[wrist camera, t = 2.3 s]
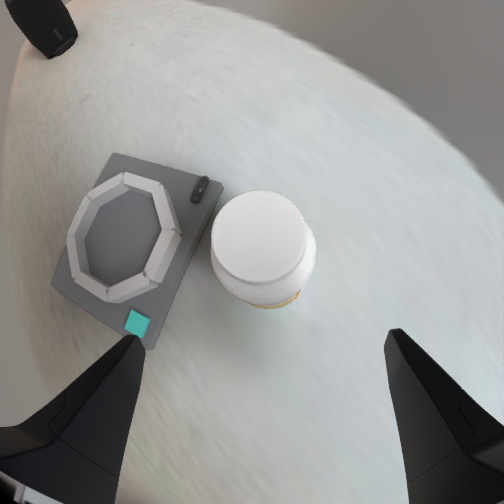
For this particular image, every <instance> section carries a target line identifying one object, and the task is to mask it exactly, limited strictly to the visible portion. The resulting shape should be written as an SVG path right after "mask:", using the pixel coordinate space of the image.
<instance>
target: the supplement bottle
mask: <svg viewBox="0 0 504 504" xmlns="http://www.w3.org/2000/svg"><path fill="white" fill-rule="evenodd" d="M315 259H316V243H315V239H314V235H313V232H312V230H311V228H310V226H309V224H308V223H307V222H306V220H305V219H304V218H303V216H302V214H301V212H300V211H299V209H298V208H297V207H296V206H295V204H294V203H292V202H291V201H290V200H289V199H288V198H286V197H284V196H283V195H281V194H278V193H276V192H272V191H267V190H254V191H248V192H245V193H242V194H240V195H237V196H236V197H234V198H233V199H231V200H230V201H228V202H227V203H226V204H225V205H224V206H223V207H222V208H221V210H220V211H219V213H218V214H217V216H216V218H215V220H214V223H213V227H212V232H211V262H212V266H213V269H214V272H215V274H216V276H217V278H218V280H219V281H220V283H221V284H222V285H223V286H224V287H225V288H226V289H227V290H228V291H229V292H230V293H231V294H232V295H234V296H235V297H237V298H238V299H241V300H243V301H245V302H247V303H249V304H251V305H253V306H255V307H258V308H262V309H277V308H281V307H284V306H286V305H288V304H290V303H291V302H293V301H294V300H295V299H296V298H297V297H298V296H299V294H300V293H301V292H302V290H303V288H304V287H305V285H306V283H307V281H308V279H309V278H310V276H311V274H312V271H313V268H314V264H315Z"/></svg>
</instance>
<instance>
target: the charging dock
mask: <svg viewBox="0 0 504 504" xmlns="http://www.w3.org/2000/svg"><path fill="white" fill-rule="evenodd" d="M223 189H224V188H223V186H222V183H220V182H216V181H213V180H210V179H209V178H208V177H207V176H202V177H200V176H197V175H193V174H190V173H187V172H183V171H180V170H176V169H173V168H169V167H166V166H162V165H159V164H155V163H151V162H148V161H144V160H140V159H136V158H132V157H129V156H125V155H121V154H117V153H113V154H112V156H111V157H110V159H109V161H108V162H107V164H106V166H105V168H104V169H103V171H102V173H101V175H100V177H99V178H98V180H97V182H96V184H95V186H94V188H93V189H92V190H91V191H89V192H88V196H86V195H85V196H84V198H83V200H82V202H81V204H80V206H79V208H78V210H77V213H76V215H75V217H74V219H73V221H72V223H71V225H70V228H69V230H68V232H67V235H69V236H68V237H66V242H67V244H66V247H65V249H64V251H63V254H62V256H61V259H60V261H59V264H58V267H57V269H56V272H55V275H54V277H53V280H52V283H51V286H53V287H54V288H55V289H57V290H58V291H59V292H60V293H62V294H63V295H64V296H66V297H67V298H68V299H70V300H71V301H72V302H74V303H75V304H77V305H78V306H79V307H81V308H82V309H84V310H85V311H86V312H88V313H89V314H91V315H92V316H94V317H95V318H97V319H98V320H100V321H101V322H103V323H104V324H106V325H107V326H109V327H110V328H112V329H113V330H115V331H117V332H118V333H120V334H121V335H123V336H126V335H127V334H134V335H137V336H139V338H140V340H141V342H142V344H143V346H144V348H145V349H146V350H152V349H153V348H154V346H155V343H156V341H157V338H158V336H159V333H160V331H161V328H162V326H163V323H164V321H165V318H166V316H167V313H168V311H169V309H170V306H171V304H172V301H173V299H174V297H175V294H176V292H177V290H178V287H179V285H180V283H181V280H182V278H183V276H184V273H185V271H186V269H187V267H188V264H189V262H190V260H191V258H192V255H193V253H194V251H195V249H196V246H197V244H198V242H199V240H200V238H201V235H202V233H203V231H204V229H205V227H206V225H207V223H208V220H209V218H210V216H211V214H212V212H213V210H214V208H215V206H216V204H217V202H218V199H219V197H220V195H221V193H222V191H223Z"/></svg>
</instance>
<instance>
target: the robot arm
mask: <svg viewBox="0 0 504 504" xmlns="http://www.w3.org/2000/svg"><path fill="white" fill-rule="evenodd" d="M384 353H385V360H386V367H387V375H388V383H389V389H390V394H391V398H392V402H393V407H394V411H395V416H396V421H397V426H398V431H399V436H400V442H401V447H402V453H403V459H404V466H405V472H406V479H407V488H408V497H409V504H504V426H503V425H502V424H501V423H500V422H498V421H497V420H496V419H495V418H494V417H492V416H491V415H490V414H489V413H488V412H487V411H485V410H484V409H483V408H482V407H481V406H480V405H479V404H477V403H476V402H475V401H474V400H473V399H472V398H471V397H470V396H469V395H468V394H467V393H466V392H465V391H464V390H463V389H462V388H461V387H460V386H459V385H458V384H457V383H456V381H455V380H454V379H453V378H452V377H451V376H450V375H449V374H448V373H447V372H446V371H445V370H444V369H443V368H442V367H441V366H440V365H439V364H437V363H436V362H435V361H434V360H433V359H432V358H431V357H430V356H429V355H428V354H427V353H426V352H425V351H424V350H423V349H422V348H421V347H420V346H419V345H418V344H417V343H416V342H415V341H414V340H413V339H412V338H411V337H410V336H409V335H407V334H406V333H405V332H404V331H403V330H402V329H400V328H397V329H391V330H390V331H389V332H388V335H387V338H386V341H385V344H384ZM144 360H145V348H144V346H143V344H142V342H141V340H140V338H139V336H137V335H134V334H127V335H126V336H124V337H123V338H122V339H121V340H120V341H119V342H118V343H116V344H115V345H114V346H113V347H112V348H111V349H110V350H108V351H107V352H106V353H105V354H104V355H103V356H102V357H100V358H99V359H98V360H97V361H96V362H95V363H94V364H92V365H91V366H90V367H89V368H88V369H87V370H86V371H85V372H83V373H82V374H81V375H80V376H79V377H78V378H77V379H76V380H74V381H73V382H72V383H71V384H70V385H69V386H68V387H67V388H66V389H64V390H63V391H62V392H61V393H60V394H59V395H58V396H56V397H55V398H54V399H53V400H52V401H51V402H49V403H48V404H47V405H46V406H44V407H43V408H42V409H40V410H39V411H37V412H36V413H35V414H33V415H32V416H31V417H29V418H28V419H27V420H25V421H24V422H22V423H21V424H19V425H16V426H11V427H0V504H115V498H116V492H117V487H118V481H119V476H120V471H121V466H122V461H123V456H124V451H125V447H126V443H127V438H128V434H129V430H130V425H131V421H132V417H133V413H134V409H135V405H136V402H137V398H138V394H139V390H140V385H141V379H142V372H143V366H144Z"/></svg>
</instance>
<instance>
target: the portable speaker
mask: <svg viewBox="0 0 504 504" xmlns="http://www.w3.org/2000/svg"><path fill="white" fill-rule="evenodd" d="M5 3H6V6H7V8H8V10H9V12H10V15H11V17H12V18H13V20H14V22H15V23H16V24H17V26H18V27H19V28H20V30H21V31H22V32H23V33H24V35H25V36H26V37H27V39H28V40H29V41H30V42H31V44H32V45H34V46H35V47H36V48H37V49H38V50H39V51H41V52H42V53H43V54H44V55H45V56H46V57H47V58H48V59H49V58H51V56H53V55H61V54H63V53H64V52H65V51H66V50H68V49H69V48H70V47H71V46H72V45H73V44H74V43H75V37H76V36H77V35H78V31H77V29H76V27H75V25H74V22H73V20H72V18H71V16H70V14H69V12H68V10H67V8H66V7H65V5H64V4H63V2H62V1H61V0H5Z"/></svg>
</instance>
